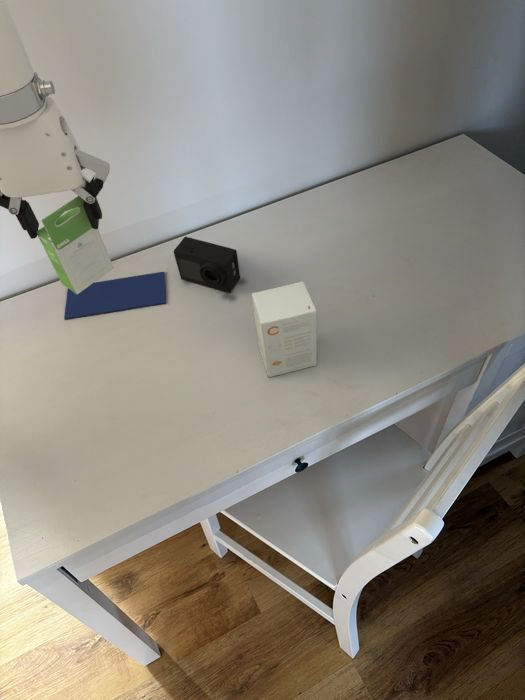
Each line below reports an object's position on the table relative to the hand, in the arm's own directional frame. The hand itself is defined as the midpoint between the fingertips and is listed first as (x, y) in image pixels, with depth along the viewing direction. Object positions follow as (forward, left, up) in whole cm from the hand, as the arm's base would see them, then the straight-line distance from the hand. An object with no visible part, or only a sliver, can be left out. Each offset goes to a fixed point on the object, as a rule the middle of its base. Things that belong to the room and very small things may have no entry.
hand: (65, 226), depth 72 cm
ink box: (0, 0, -9) cm, 9 cm away
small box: (+28, -10, -24) cm, 38 cm away
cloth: (0, +10, -24) cm, 26 cm away
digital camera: (+17, +10, -24) cm, 31 cm away
